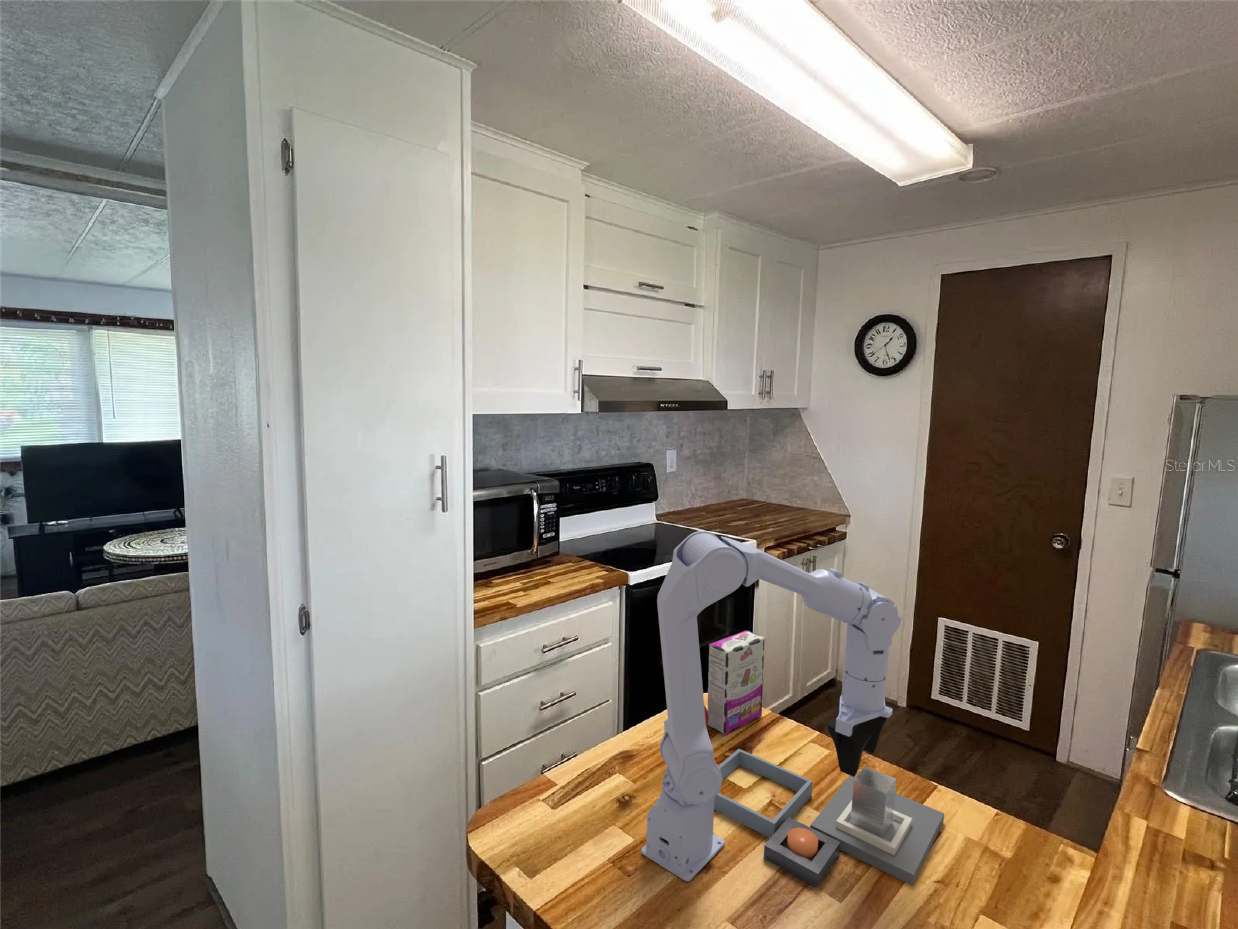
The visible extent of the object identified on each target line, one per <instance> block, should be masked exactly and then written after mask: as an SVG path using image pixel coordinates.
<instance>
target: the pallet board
mask: <svg viewBox="0 0 1238 929" xmlns="http://www.w3.org/2000/svg"><path fill="white" fill-rule="evenodd" d="M856 777H857V776H855V777H853V776H850V775H848V777H847V778H846V780H845V781H844V782H843V784H842V785H841V786H840V787H839V789H837V791H836V792H835V794H834V795H833V796H832V797H831V798H830V800H829V801H828V802H827V803H826V805H825V806H824V807H823V808H822V810H821V811H820V812H819V814H818V815H817V816H816V817H815V819H814V820H813V821H812V822H811V823H810V825H809V827H810V828H812V829H814V830H816V831H818V832H821V833H823V834H825V835H827V836H829V837H831V838H833V839H835V840H837V841H839V842H840V851H843V852H844V853H846V854H848V855H851V856H852V857H854V858H856V859H859V860H860V861H862V862H865V863H866V864H868V865H870V866H873V867H875V868H877V869H878V870H881V871H882V872H885V873H886V874H888V875H891V876H892V877H895V878H897V879H898V880H900V881H902V882H905V883H907V884H909V885H911V886H913V885H914V884H915V882H916V880H917V877H918V875H919V873H920V871H921V869H922V867H923V865H924V862H925V861H926V859H927V857H928V855H929V853H930V851H931V848H932V846H933V845H934V843H935V841H936V839H937V836H938V834H939V832H940V830H941V829H942V827H943V824H944V820H945V813H944V812H942V811H940V810H937V809H935V808H933V807H930V806H927V805H925V804H922V803H920V802H918V801H916V800H913V799H910V798H908V797H906V796H904V795H901V794H898V793H897V792H895V801H894V813H893V824H892V825H891V827H890V829H889V830H888V832H887V834H886V835H885V837H884V838H883V839H882V838H880V837H878V836H875V835H873V834H871V833H869V832H867V831H865V830H863V829H860V828H858V827H856V826H854V825H852V824H850V823H851V810H852V797H853V784H854V779H855V778H856Z"/></svg>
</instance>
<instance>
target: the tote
mask: <svg viewBox="0 0 1238 929" xmlns="http://www.w3.org/2000/svg"><path fill="white" fill-rule="evenodd" d="M739 766H740V767H742V768H745V769H747V770H749V771H752V772H754V773H755V774H759V775H760V776H762V777H765V778H767V779H768V780H771V781H773V782H775V783H777V784H780V785H782V786H784V787H786V788H788V789H791V790H793V791H795V792H796V793H795V794H794V795H793V797H792V798H791V799H789V801H788V802H787V803H786V804H785V805H784V807H783V808H781V810H780V811H779V812H778V813H777V814H776V815H775V816H774V818H770V817H768V816H766V815H763V814H761V813H760V812H758V811H757V810H753V809H752V808H750V807H747V806H746V805H744V804H742V803H740V802H738V801H736V800H734V799H732V798H730V797H728V796H726V795H724V794H722V793H720V792H718V794H717V795H716V796H715V801H714V811H717V812H719V813H720V814H723V815H725V816H726V817H728V818H730V819H732V820H734V821H736V822H738V823H740V824H741V825H744V826H745V827H748V828H750V829H752V830H754V831H756V832H757V833H760V834H761V835H763V836H765V837H768V838H769V839H770V838H771V837H772V836H773V835H774V833H775V832H776V831H777V830H778V829H779V828H780V827H781V825H782V824H783V823H784V822H785V821H786V820H787V818H788V817H790V818H792V819H794V817H795V816H796V814H798V812H799V811H800V810H801V809H802V807H804V806H805V804H806V803H807V802H808V801H809V800H810V798H811V797H812V795H813V794H812V793H813V780H811V779H809V778H807V777H804V776H802V775H800V774H798V773H795V772H793V771H791V770H788V769H786V768H784V767H782V766H779V765H777V764H775V763H773V762H770V761H768V760H766V759H763V758H761V757H759V756H756V755H755V754H752V753H750V752H747V751H745V750H743V749H740V748H738V749H736V750H735V751H734V752H733V753H732V754H730V755H729V756H727V758H726V759H725V760H723V761H722V762H721V763H720V764H719V765H718V767H719V768H720V770H721V773H722V781H723V780H724V779H725V778H727V777H728V776H730V774H731V773H733V772H734V771H735V770H736V769H737V768H738V767H739Z"/></svg>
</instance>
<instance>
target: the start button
mask: <svg viewBox="0 0 1238 929" xmlns="http://www.w3.org/2000/svg"><path fill="white" fill-rule="evenodd" d="M787 849H789V850H791V851H793V852H795V853H797V854H798V855H800V856H802V857H804V858H806V859H808V860H810V861H812V860H813V859H814V858H815V856H816V855H817V854H818V838H817V836H816V835H815V834H814V833H813V832H811V831H810V830H807V829H804V828H793V829H791V830H790V831H789V832H788V840H787Z"/></svg>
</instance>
